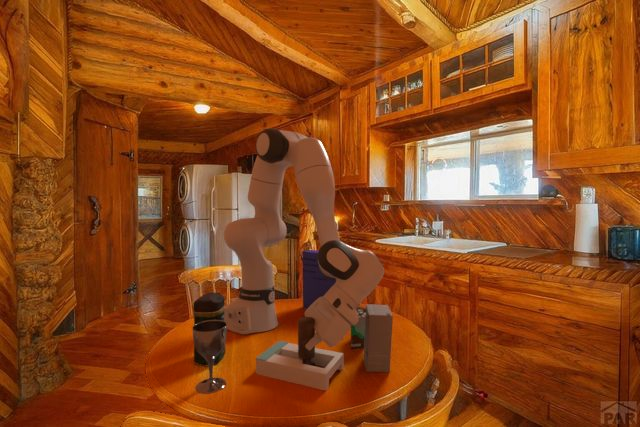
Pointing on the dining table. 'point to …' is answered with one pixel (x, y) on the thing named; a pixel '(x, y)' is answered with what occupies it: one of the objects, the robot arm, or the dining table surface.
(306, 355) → the knob post
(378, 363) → the skincare box
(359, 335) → the food container
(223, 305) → the coffee jar
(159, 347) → the dining table surface
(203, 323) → the wine glass
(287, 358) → the keyhole plate
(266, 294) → the robot arm
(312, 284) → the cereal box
